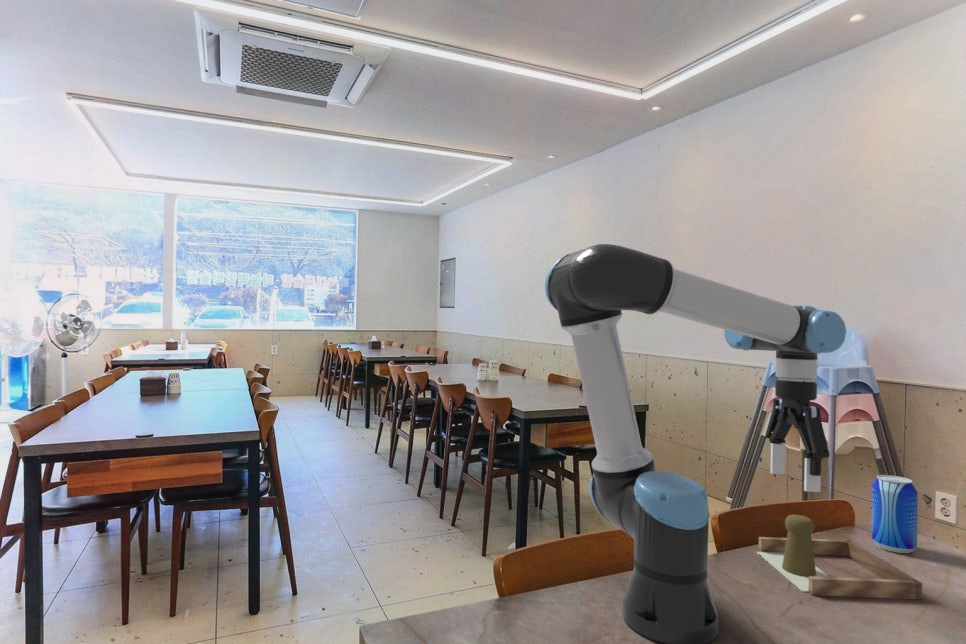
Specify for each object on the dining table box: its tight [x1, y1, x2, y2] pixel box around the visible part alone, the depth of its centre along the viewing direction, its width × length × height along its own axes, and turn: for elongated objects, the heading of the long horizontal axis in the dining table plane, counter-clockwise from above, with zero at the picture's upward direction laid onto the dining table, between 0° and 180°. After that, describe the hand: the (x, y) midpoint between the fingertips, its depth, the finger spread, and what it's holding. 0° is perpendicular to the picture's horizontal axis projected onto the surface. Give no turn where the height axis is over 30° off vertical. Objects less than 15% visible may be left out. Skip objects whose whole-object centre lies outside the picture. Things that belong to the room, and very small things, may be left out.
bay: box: [758, 536, 923, 601], centre depth 111 cm, size 20×21×3 cm
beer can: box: [871, 474, 918, 554], centre depth 125 cm, size 8×8×16 cm
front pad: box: [756, 551, 831, 593], centre depth 111 cm, size 9×18×1 cm, turn 178°
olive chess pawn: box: [782, 514, 816, 577], centre depth 111 cm, size 6×6×11 cm
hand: (793, 482), depth 112 cm, fingers open, 13 cm apart
